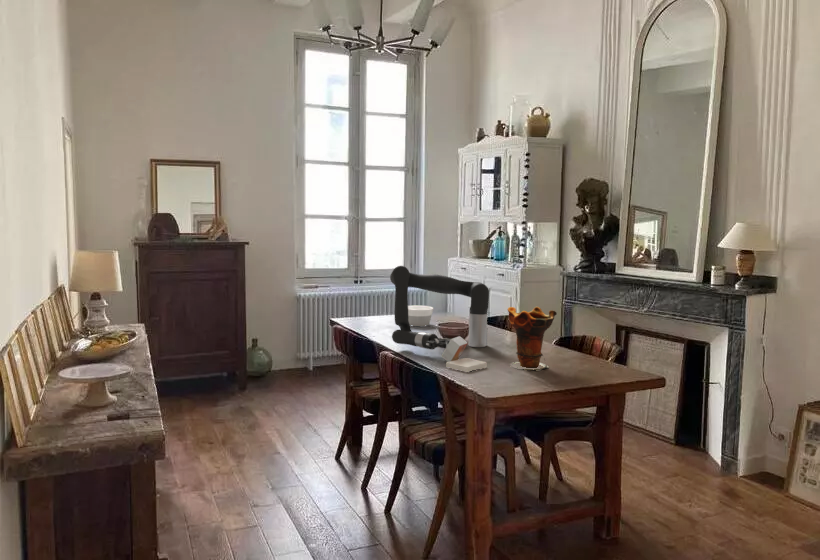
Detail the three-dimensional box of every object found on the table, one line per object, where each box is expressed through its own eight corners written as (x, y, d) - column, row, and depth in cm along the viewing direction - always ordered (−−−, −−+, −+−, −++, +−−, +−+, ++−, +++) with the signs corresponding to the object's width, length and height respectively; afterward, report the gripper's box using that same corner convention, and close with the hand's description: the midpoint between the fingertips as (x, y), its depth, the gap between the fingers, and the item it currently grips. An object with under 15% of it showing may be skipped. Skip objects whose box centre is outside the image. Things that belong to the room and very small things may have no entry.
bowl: (400, 322, 412) (400, 305, 411) (430, 322, 415) (431, 305, 413) (403, 327, 393) (404, 309, 392) (435, 327, 396) (435, 310, 394)
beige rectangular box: (465, 363, 304) (466, 357, 304) (486, 367, 296) (486, 362, 296) (446, 367, 294) (446, 362, 294) (466, 372, 286) (467, 367, 286)
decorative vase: (563, 365, 301) (564, 305, 297) (532, 375, 286) (532, 312, 282) (527, 357, 317) (528, 300, 313) (496, 367, 302) (496, 307, 298)
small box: (449, 363, 303) (459, 346, 298) (440, 356, 305) (450, 338, 301) (458, 360, 309) (468, 342, 305) (449, 352, 312) (459, 335, 307)
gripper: (416, 334, 312) (441, 338, 300) (436, 331, 322) (461, 335, 311) (416, 350, 312) (441, 354, 301) (436, 346, 322) (461, 350, 311)
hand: (451, 344), depth 306 cm, fingers closed on small box, 8 cm apart
